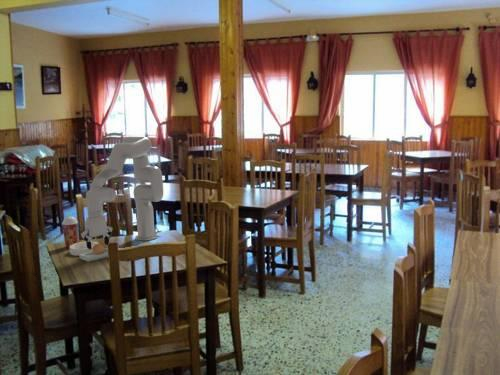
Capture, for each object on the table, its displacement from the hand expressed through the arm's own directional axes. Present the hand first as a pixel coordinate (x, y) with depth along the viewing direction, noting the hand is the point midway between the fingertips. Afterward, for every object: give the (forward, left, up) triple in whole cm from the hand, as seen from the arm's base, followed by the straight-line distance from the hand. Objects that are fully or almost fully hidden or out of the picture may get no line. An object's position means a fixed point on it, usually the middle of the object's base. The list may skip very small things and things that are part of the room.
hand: (98, 246), depth 270 cm
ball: (0, 0, -1) cm, 1 cm away
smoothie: (0, -29, -5) cm, 30 cm away
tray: (0, 0, -5) cm, 5 cm away
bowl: (0, -14, -5) cm, 15 cm away
